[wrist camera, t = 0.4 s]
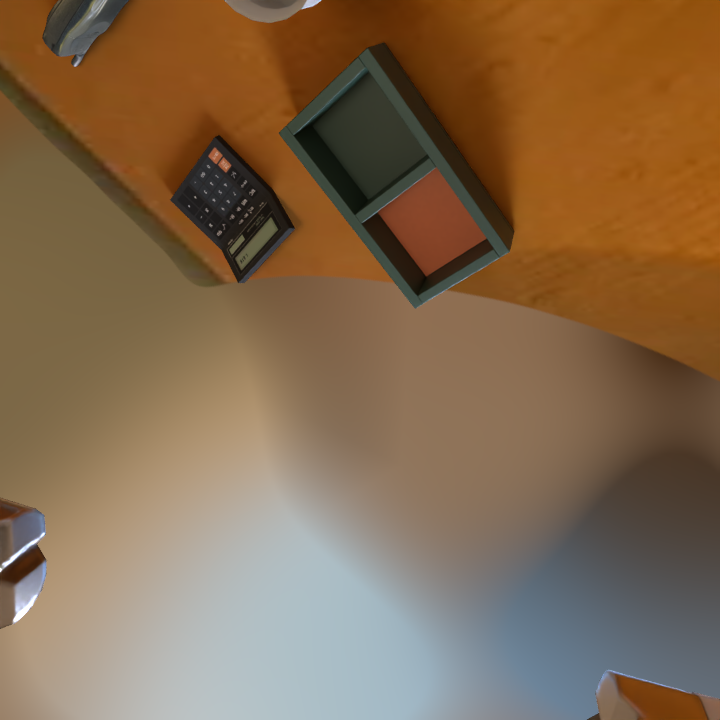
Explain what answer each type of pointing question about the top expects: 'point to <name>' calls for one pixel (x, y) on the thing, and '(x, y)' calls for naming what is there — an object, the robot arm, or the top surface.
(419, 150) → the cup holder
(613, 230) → the top surface
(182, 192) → the calculator
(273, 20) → the chalice
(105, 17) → the stapler
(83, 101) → the top surface
